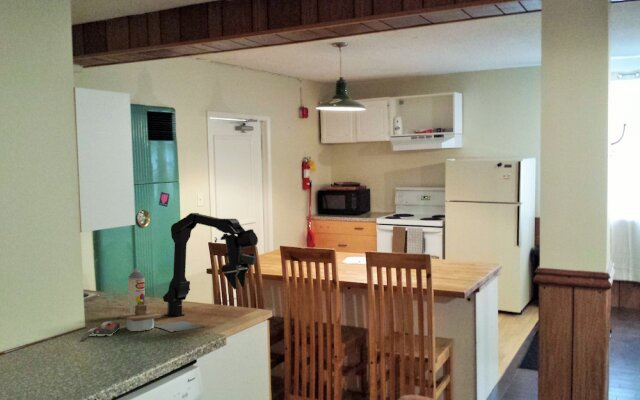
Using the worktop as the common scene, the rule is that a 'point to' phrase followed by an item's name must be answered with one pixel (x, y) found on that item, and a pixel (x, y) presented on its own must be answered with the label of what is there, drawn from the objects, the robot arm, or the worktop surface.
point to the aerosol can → (135, 290)
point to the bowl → (140, 324)
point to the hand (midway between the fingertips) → (239, 288)
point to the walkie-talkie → (103, 328)
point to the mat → (178, 326)
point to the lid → (140, 314)
